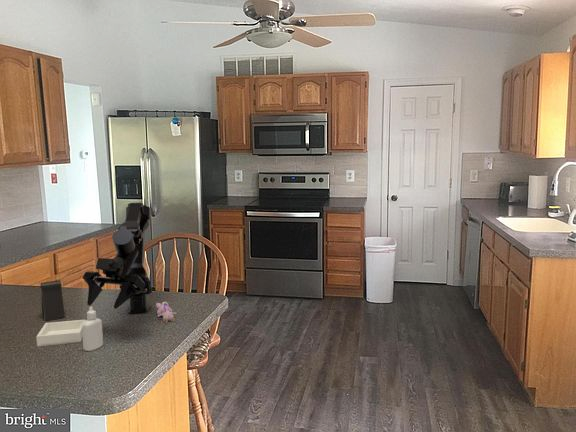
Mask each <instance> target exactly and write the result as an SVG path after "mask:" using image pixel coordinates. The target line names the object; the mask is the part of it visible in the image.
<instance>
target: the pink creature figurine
mask: <svg viewBox="0 0 576 432" xmlns="http://www.w3.org/2000/svg"><path fill="white" fill-rule="evenodd" d="M155 307H156V309H157V312H156V314H157V317H158V318H159V317H162V320H163V322H164V324H168V323H169V322H176V319H175V316H174V315H177V312H173V309H172V308H171V307H170V306H169V302H167V301H163V302H161V303H160V302H156V303H155Z"/></svg>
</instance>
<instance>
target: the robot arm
mask: <svg viewBox="0 0 576 432" xmlns="http://www.w3.org/2000/svg"><path fill="white" fill-rule="evenodd" d="M125 208H126V209H125V220H124V222H122V223H121V224H119V226H118V227H117V230H116V231H114V232H113V233H112V236H111V240H112V242H113V245H114V248H115V251H116V252H117V253H116V255H115V256H114V258H103V257H98V258H97V260H96V264H95V270H101V272H102V274H103V275H105V276H102V275H101V274H100V273H99V272H98V271H90V270H87V271H85V272H84V274H83V275H82V279H83V280H84V282H85V283H86V284H87V286H88V294H87V301H86V303H87V306H88V307H92V304H93V303H95V301H96V299H97V298H98V296H99V295H100V294H101V293H102V291H103V287H104V286H105V284H109V285H118V286H119V285H120V291H119V293H118V295H117V298H116V299H115V302H114V306H113V308H114V309H118V308H119V307H120V306H122V305H123V304H124V303H125V302H127V301H128V300H129V308H128V311H127V313H128V314H140V313H141V314H143V313H148V312H149V305H147V304H148V303H147V302H148V301H147V295H150V294H152V293H153V286H152V281H151V280H150V277H148V273H147V271H146V269H145V267H144V261H145V260H144V259H145V257H144V256H145V232H146V230H147V229H148V228H149V227H150V224H151V221H150V220H152V209H151V208H150V207H149V206H147V205H145V204H144V203H143V202H129V203H128V204H127V206H126V207H125Z"/></svg>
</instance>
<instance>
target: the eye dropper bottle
mask: <svg viewBox="0 0 576 432" xmlns="http://www.w3.org/2000/svg"><path fill="white" fill-rule="evenodd" d="M85 320H86V321H85V322H84V323H83V325H82V335H83V338H82V346H83V347H82V349H83V351H86V352H92V351H95V350H97V349H99V348H101V347H103V346H104V336H103V335H104V334H103V323H102V319H100V318H97V311H96V310H94V307H93V306H89V309H88V311H87V312H86V319H85Z"/></svg>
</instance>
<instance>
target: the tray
mask: <svg viewBox="0 0 576 432" xmlns="http://www.w3.org/2000/svg"><path fill="white" fill-rule="evenodd" d="M86 320H87V319H76V320H65V321H51V322H45V323H44V325H43V326H42V327H41V329H40V330H39V332H38V333H37V335H36V347H45V346H46V347H47V346H56V345H59V346H60V345H66V344H76V343H77V344H78V343H81V342H82V341H83V335H82V325H83V323H84V322H85V321H86Z"/></svg>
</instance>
